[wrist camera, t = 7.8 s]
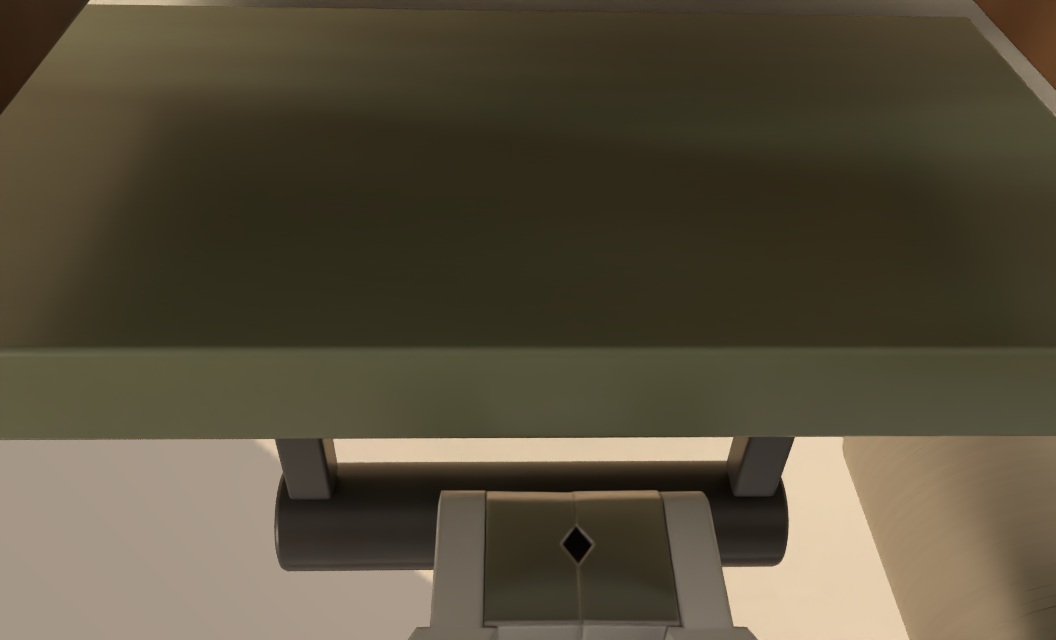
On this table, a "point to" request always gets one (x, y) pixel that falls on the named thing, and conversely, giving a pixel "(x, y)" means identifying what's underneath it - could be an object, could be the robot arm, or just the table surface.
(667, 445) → the table surface
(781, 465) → the drawer
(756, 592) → the table surface
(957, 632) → the cylinder
